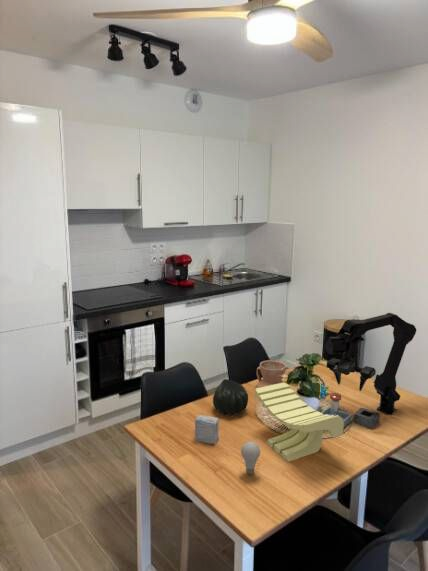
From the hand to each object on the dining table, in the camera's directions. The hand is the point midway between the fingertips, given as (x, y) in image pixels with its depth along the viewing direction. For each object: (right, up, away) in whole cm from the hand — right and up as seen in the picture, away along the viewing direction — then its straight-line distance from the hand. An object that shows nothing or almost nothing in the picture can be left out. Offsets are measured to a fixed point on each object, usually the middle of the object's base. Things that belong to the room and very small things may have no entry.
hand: (349, 387), depth 175 cm
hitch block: (+6, -13, -3) cm, 15 cm away
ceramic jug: (-29, -8, +23) cm, 38 cm away
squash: (-49, -12, +5) cm, 51 cm away
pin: (-7, -13, -3) cm, 15 cm away
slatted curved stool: (-26, -17, -20) cm, 37 cm away
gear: (-8, -9, +21) cm, 24 cm away
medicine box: (-59, -16, -17) cm, 63 cm away
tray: (-7, -13, -3) cm, 15 cm away
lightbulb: (-44, -19, -37) cm, 61 cm away
